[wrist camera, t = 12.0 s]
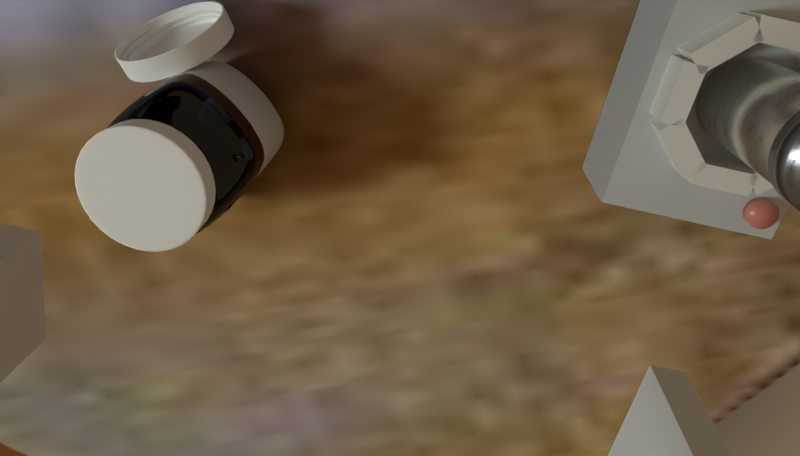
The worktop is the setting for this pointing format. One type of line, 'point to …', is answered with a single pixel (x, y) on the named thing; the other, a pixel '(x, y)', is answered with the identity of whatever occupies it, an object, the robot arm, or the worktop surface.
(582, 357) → the worktop surface
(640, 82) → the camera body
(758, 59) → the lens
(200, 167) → the spread jar
